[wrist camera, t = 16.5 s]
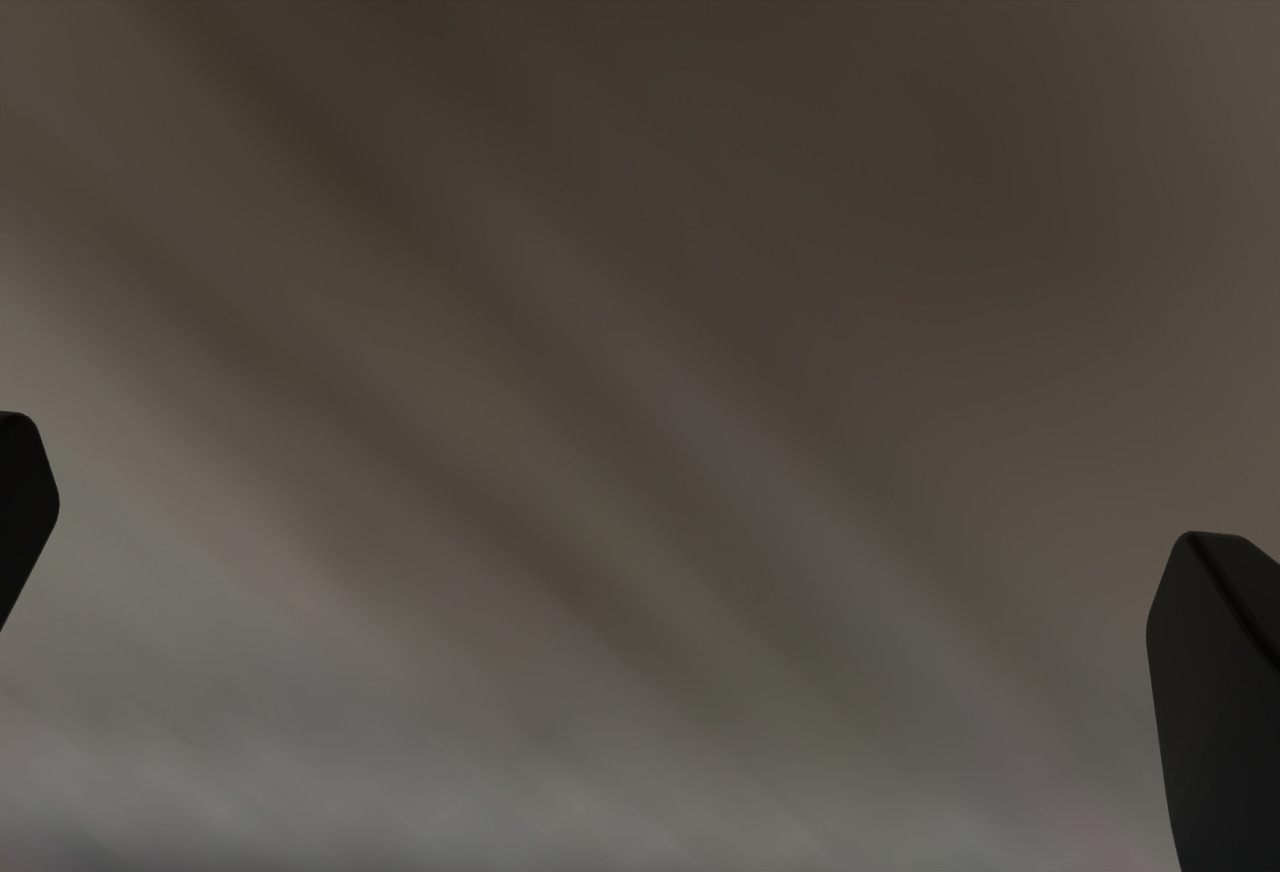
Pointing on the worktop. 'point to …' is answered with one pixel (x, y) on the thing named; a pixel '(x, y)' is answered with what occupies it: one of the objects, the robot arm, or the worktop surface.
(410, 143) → the worktop surface
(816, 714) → the worktop surface
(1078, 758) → the worktop surface
